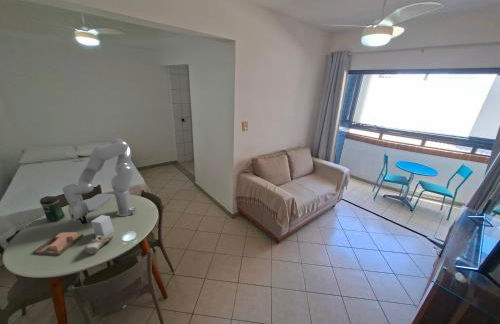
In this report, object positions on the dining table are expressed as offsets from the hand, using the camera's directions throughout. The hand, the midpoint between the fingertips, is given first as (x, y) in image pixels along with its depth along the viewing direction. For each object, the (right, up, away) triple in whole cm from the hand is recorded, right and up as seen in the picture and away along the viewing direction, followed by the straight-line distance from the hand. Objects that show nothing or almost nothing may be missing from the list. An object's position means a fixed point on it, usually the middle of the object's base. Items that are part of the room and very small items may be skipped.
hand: (84, 223), depth 136 cm
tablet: (-15, +8, +29) cm, 34 cm away
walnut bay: (-2, -8, -15) cm, 17 cm away
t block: (-1, -8, -14) cm, 16 cm away
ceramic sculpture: (+23, -10, -17) cm, 31 cm away
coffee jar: (-28, +1, +8) cm, 30 cm away
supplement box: (+19, -6, -6) cm, 21 cm away
